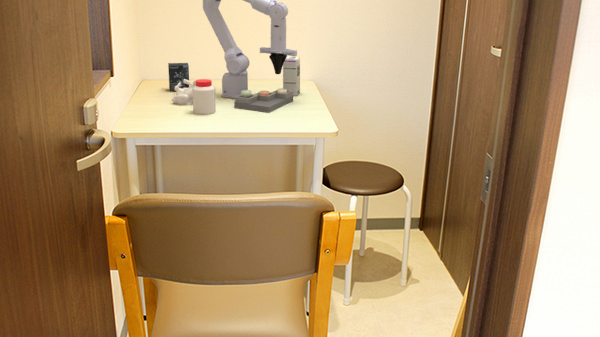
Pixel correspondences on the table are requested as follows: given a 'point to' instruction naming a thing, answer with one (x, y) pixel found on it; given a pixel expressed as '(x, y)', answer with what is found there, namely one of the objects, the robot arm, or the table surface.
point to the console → (264, 101)
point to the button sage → (246, 93)
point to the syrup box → (291, 74)
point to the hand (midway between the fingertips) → (278, 73)
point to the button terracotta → (264, 93)
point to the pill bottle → (204, 97)
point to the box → (178, 75)
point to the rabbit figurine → (184, 93)
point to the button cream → (281, 90)
